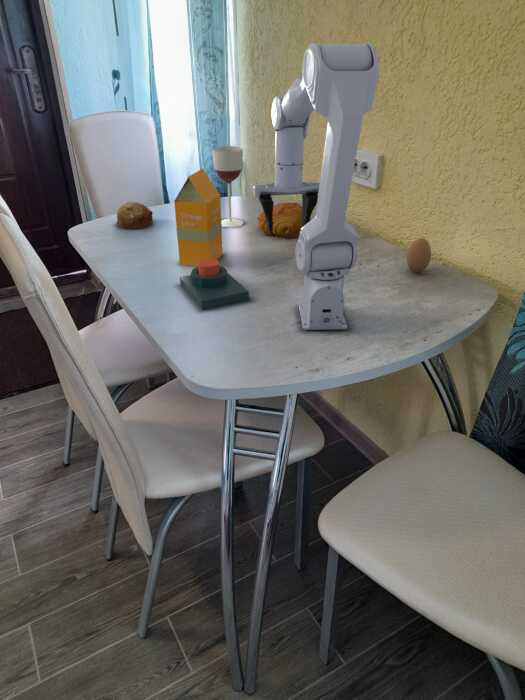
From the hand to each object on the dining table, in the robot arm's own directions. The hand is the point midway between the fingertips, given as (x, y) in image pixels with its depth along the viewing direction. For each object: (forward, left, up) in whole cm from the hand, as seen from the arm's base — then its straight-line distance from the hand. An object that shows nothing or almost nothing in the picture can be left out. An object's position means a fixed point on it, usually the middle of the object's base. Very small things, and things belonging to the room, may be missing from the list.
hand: (287, 228), depth 109 cm
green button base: (-12, +16, -10) cm, 22 cm away
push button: (-10, +17, -6) cm, 20 cm away
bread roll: (+35, +41, -10) cm, 55 cm away
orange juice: (+7, +20, -10) cm, 23 cm away
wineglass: (+35, +14, -10) cm, 39 cm away
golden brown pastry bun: (+29, -1, -10) cm, 31 cm away
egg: (-2, -29, -10) cm, 31 cm away
